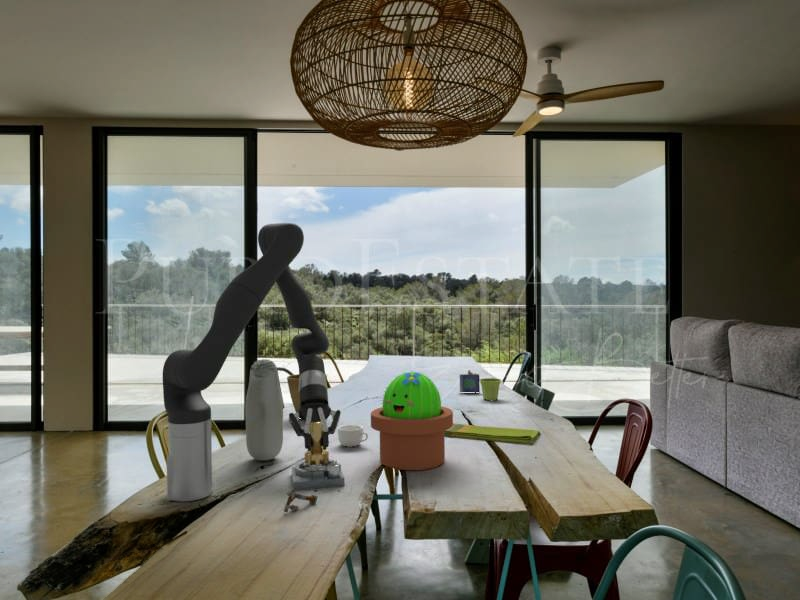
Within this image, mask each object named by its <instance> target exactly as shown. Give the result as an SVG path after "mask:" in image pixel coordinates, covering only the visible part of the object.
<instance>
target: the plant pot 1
mask: <svg viewBox="0 0 800 600" xmlns="http://www.w3.org/2000/svg"><path fill="white" fill-rule="evenodd" d="M325 378H326V382H327V379H328V374H326V373H325ZM286 379H287V380H286V381H287V386H288V390H289V394H290V395H289V396H290V398H291V402H292V406H293V408H294V411H295V413H297V412H298V410H299V408H300V401H299V373H298V374H293V375H288V376H287V377H286ZM299 418H300V417H299Z"/></svg>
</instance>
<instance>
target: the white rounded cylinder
mask: <svg viewBox="0 0 800 600" xmlns="http://www.w3.org/2000/svg"><path fill="white" fill-rule="evenodd" d="M278 372H279V371H278V367H277V365H276V363H275V362H274V361H273V360H270V359H257V360H256V361H254V362H253V364H252V365H251V367H250V371H249V380H248V381H249V382H248V388H247V392H246V396H245V397H246V398H245V408H244V412H245V415H244V416H245V417H244V418H245V436H246V437H245V442H246V443H245V444H246V450H247V452H248V454H249V455H250V456H251V458H252V459H254V460H255V461H256V460H257V461H261V462H263V461H264V462H267V461H271V460H273V459H275V458H276V457H277V456H278V455H279V454H280V452H281V451H282V447H283V443H284V401H283V400H284V399H283V395H282V391H281V388H280V387H281V385H280V383H279V382H280V381H279V376H278V375H279V374H278Z"/></svg>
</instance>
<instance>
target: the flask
mask: <svg viewBox="0 0 800 600" xmlns="http://www.w3.org/2000/svg"><path fill="white" fill-rule="evenodd" d="M479 380H480V374H479V373H476V372H472V371H471V370H470V369H469V370H467V373H460V374H459V393H460V392H479V393H480V386H481V384H480V381H479Z"/></svg>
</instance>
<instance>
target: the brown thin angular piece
mask: <svg viewBox="0 0 800 600" xmlns="http://www.w3.org/2000/svg"><path fill="white" fill-rule="evenodd" d="M295 491H296V490H293V489H290V490H288V491H286V496H288V498H287V501H286V503H285V506H284V509H283V512H284V513H288V512H289V509H290V511H293V512H294V511H298V510H299V509H300V507H299V506H298V505H294V504H291V503H292V502H293V501H294V500H295V499H297V500H302V501H308V502H309V504H312V505H317V502H318V498H319V496H317V495H315V494H311V495H308V496H307V495H304V494H301V493H298V492H295Z"/></svg>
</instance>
